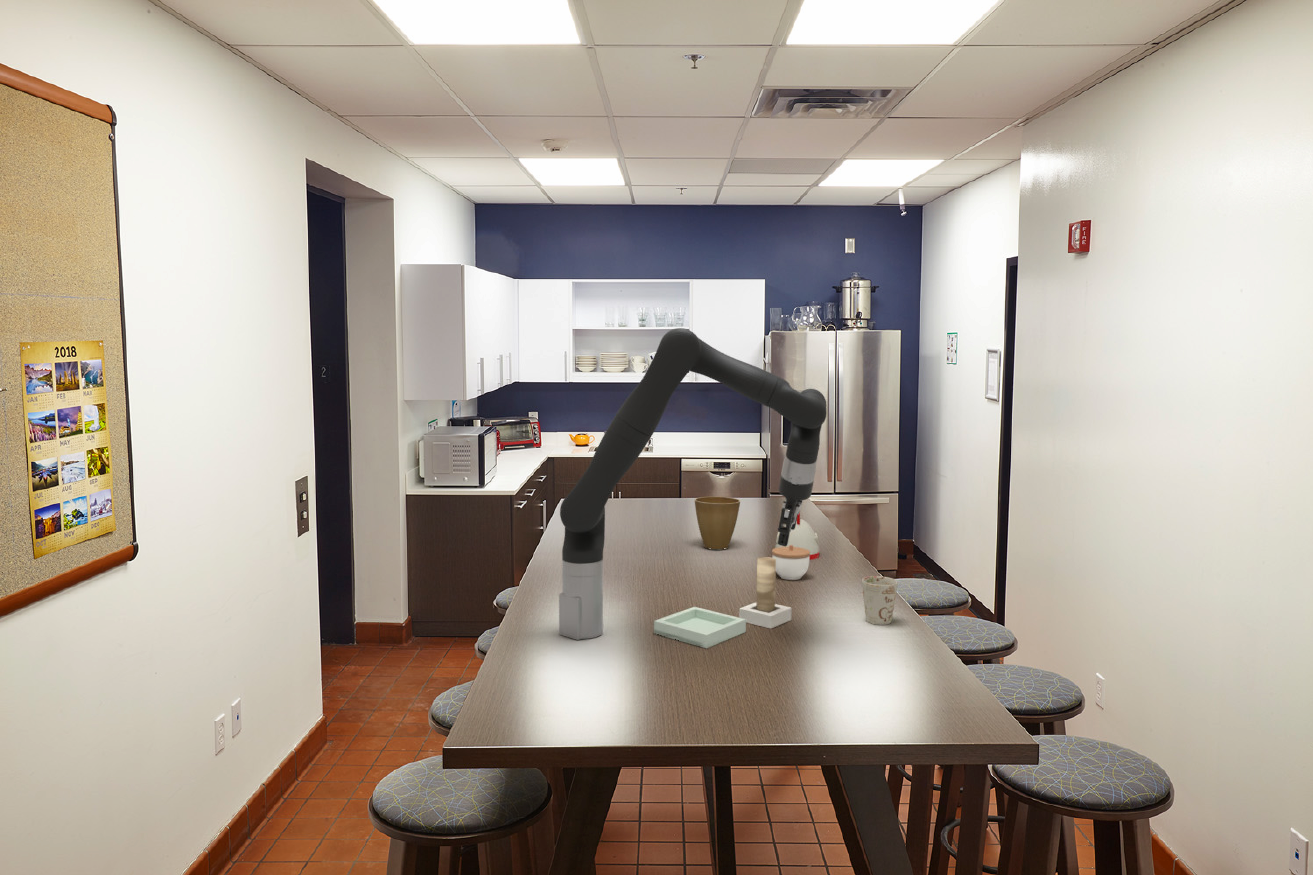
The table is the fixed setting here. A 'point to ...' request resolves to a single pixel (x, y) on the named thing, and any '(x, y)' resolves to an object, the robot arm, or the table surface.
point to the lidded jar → (791, 562)
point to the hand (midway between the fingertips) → (786, 536)
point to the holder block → (765, 615)
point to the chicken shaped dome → (803, 538)
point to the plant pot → (716, 520)
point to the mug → (879, 599)
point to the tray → (700, 627)
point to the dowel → (766, 584)
